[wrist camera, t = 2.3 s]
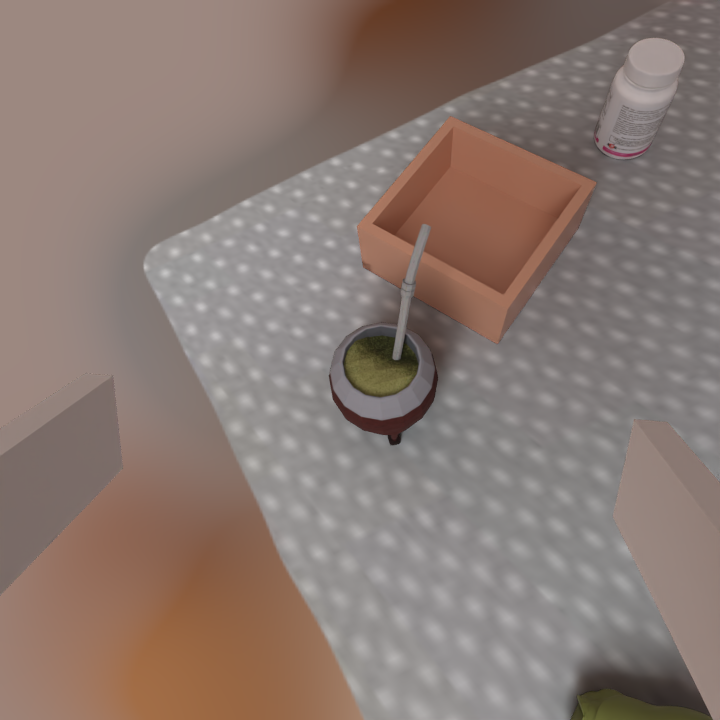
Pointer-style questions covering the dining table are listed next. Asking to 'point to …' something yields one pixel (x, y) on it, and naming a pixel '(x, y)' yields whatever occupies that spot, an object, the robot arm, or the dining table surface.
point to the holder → (475, 225)
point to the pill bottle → (639, 98)
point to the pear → (627, 708)
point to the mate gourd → (386, 368)
